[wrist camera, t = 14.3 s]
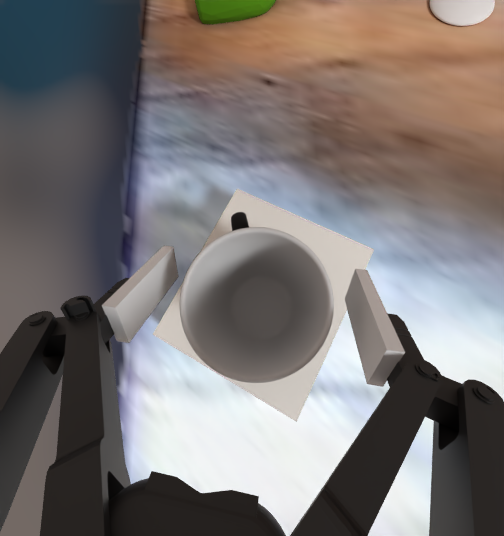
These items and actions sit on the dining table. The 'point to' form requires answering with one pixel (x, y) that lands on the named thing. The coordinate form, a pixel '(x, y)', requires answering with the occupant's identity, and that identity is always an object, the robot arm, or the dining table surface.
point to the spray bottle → (230, 10)
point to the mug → (256, 303)
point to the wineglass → (462, 11)
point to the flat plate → (339, 272)
